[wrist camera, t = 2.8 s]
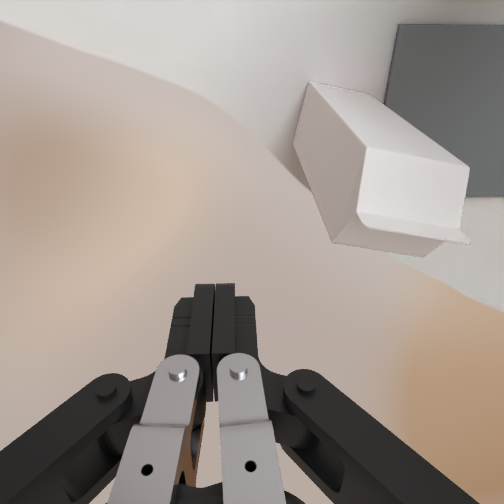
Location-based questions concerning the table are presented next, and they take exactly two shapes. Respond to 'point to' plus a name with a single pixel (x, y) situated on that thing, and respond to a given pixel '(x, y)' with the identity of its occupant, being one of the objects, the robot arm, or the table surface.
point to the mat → (454, 94)
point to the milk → (378, 174)
